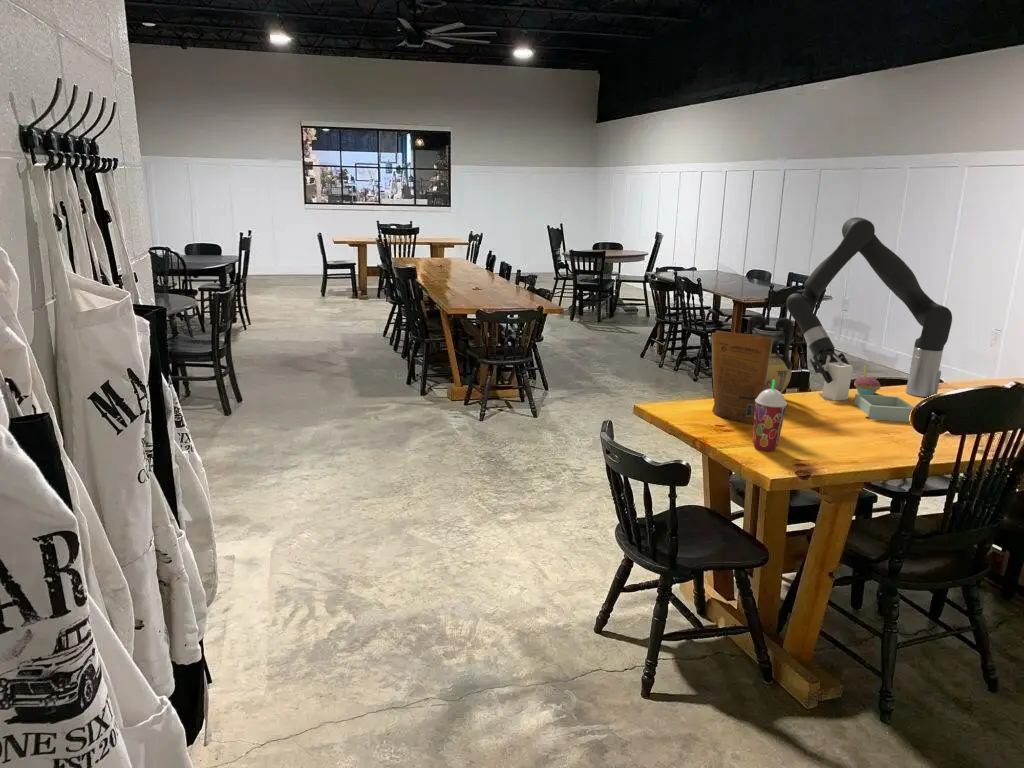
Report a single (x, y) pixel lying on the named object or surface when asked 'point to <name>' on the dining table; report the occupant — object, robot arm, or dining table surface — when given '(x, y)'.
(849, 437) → the dining table surface
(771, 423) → the smoothie
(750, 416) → the pancake mix bag
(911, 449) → the dining table surface
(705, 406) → the dining table surface
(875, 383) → the cupcake
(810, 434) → the dining table surface
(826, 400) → the base
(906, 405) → the tray
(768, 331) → the amphora
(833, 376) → the sleeve
